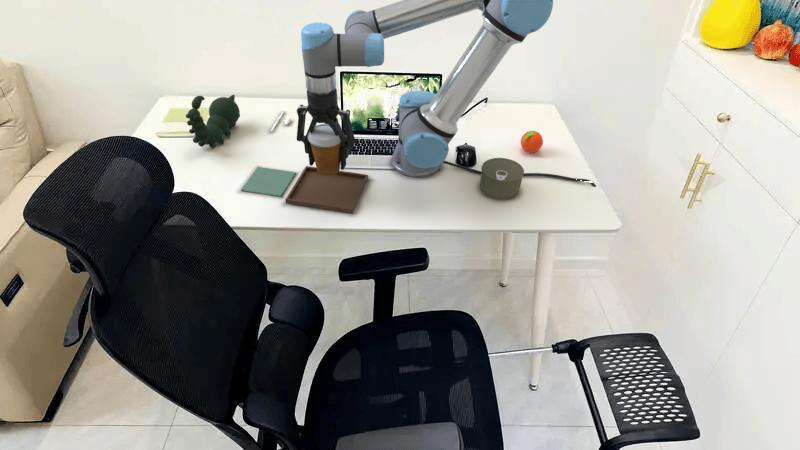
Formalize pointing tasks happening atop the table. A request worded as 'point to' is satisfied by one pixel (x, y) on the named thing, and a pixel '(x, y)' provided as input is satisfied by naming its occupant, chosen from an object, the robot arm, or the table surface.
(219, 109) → the toy figurine
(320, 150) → the disposable coffee cup
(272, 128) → the picture light
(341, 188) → the tray
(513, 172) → the can
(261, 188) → the mat
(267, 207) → the table surface
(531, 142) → the clementine
